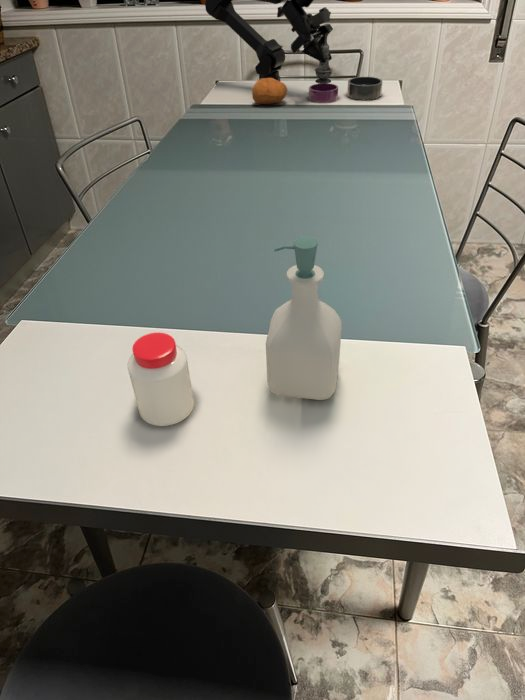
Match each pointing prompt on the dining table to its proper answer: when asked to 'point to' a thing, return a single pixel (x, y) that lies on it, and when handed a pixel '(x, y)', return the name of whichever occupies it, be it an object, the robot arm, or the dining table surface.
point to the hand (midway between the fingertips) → (327, 61)
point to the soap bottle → (303, 333)
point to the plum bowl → (323, 93)
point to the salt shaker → (324, 66)
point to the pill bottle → (160, 380)
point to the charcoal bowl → (364, 88)
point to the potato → (269, 91)
